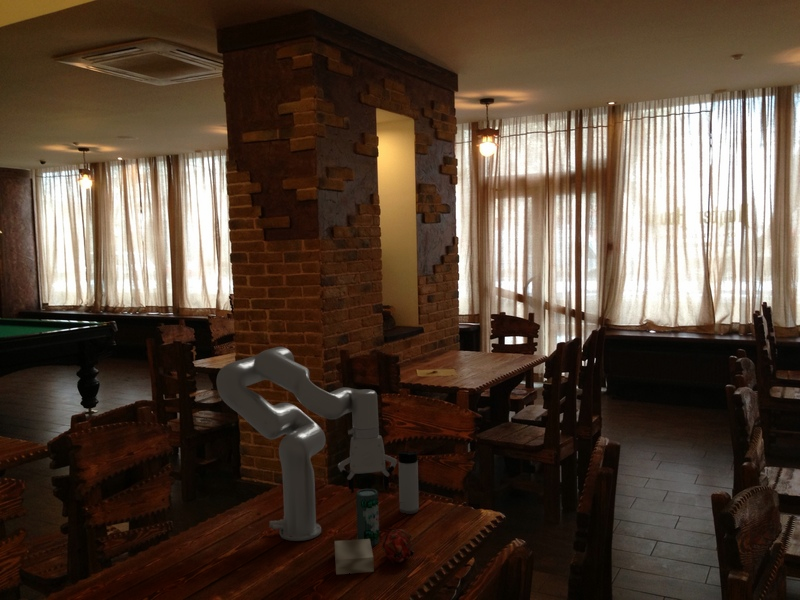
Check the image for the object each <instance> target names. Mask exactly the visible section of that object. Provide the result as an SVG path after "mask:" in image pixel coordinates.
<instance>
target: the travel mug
mask: <svg viewBox="0 0 800 600" xmlns="http://www.w3.org/2000/svg"><path fill="white" fill-rule="evenodd" d="M418 462H419V461H418V452H417V451H409V450H401V451H398V493H399V494H398V497H399V499H398V500H399V501H398V502H399V512H400V513H402V514H404V513H406V515H411V514H416V513H418V512H419V507H420V506H419V465H418V464H419V463H418Z"/></svg>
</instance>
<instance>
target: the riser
mask: <svg viewBox="0 0 800 600" xmlns="http://www.w3.org/2000/svg"><path fill="white" fill-rule="evenodd" d="M334 558H335V559H334V560H335V573H336V575H337V576H338V575H348V574H349V573H350V574H360V573H373V572H374V571H375V567H374V565H375V564H374V552H373V546H371V542H370V539H358V540H357V539H347V540H334Z"/></svg>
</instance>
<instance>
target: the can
mask: <svg viewBox="0 0 800 600" xmlns="http://www.w3.org/2000/svg"><path fill="white" fill-rule="evenodd" d="M355 500H356V502H355V503H356V529H357V530H356V531H357V532H356V537H357V538H356V540H358V539H370V542H371V547H374V546H377V545H379V543H380V520H379V519H380V516H379V515H380V513H379V491H378V490H377V489H374V488H363V489H359V490H357V491H356V493H355Z"/></svg>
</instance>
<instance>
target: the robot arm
mask: <svg viewBox="0 0 800 600" xmlns="http://www.w3.org/2000/svg"><path fill="white" fill-rule="evenodd" d="M216 375H217V376H216V382H215V383H216V389H217V392H218V394H219V397H220V398H221V400H222V401H223V402H224V403H225V404H226V405H227V406H228V407H229V408H230V409H232V410H233V411H234V412H236V413H237V414H238V415H240V416H241V417H242V418H243V419H244V420H245V421H246V422H247V423H248V425H250V426H252V427H253V428H254V429H255V431H257V432H258V433H259V434H260V435H261V436H263V437H264V438H266V439H268V440H276V439H278V438H280V437H282V436H284V435H285V436H284V437H282V439H281V440H280V443H279V445H278V446H279V447H278V455H279V456H278V457H279V461H280V464H281V465H280V466H281V471H282V473H281V474H282V489H283V490H282V491H283V493H282V494H283V518H282V519H281V518H280V520H269V528H272V530H279V536H280V538H281V539H284V540H286V541H290V542H303V541H309V540H312V539H315V538H317V537H319V536H320V534H322V526H321V525H320V524H319V523H317V515H316V514H317V513H316V486H315V471H314V468H313V467H314V466H313V465H312V464H313V463H312V461H311V458H313V456H315V455H316V454H318V453H319V452H320V451H322V450H323V448H324V447H325V445H326V441H327V440H326V434H325V432H324V430H323V429H322V428H321V426H320V425H319V424H318V423H316V422H315V421H314V420H313V419H312V418H311V417H309V416H308V415H307V414H306V413H305V412H303V410H301V409H300V408H299V407H297V406H296V405H294V404H292V403H289V402H279V403H277V404H274V405H273V404H271V403H270V402H269V401H268V400H266V399H265V398H264V397H263V396H262V395H260V394H259V393H257V392H255V391H253V390H251V389H249V388H248V386H251V385H255V384H257V383H259V382H262V381H266V380H268V381H269V382H272V383H273V384H275V385H277V386H279V387H282V388H283V389H285V390H286V391H289V392H290V393H292V394H293V395H294V396H295V397H294V398H296V399H297V401H298V402H299V403H300V404H301V405H302V406H303V407H304V408H306V409H307V410H309V411H310V412H312V413H314V414H316V415H318V416H319V417H321V418H325V419H327V420H337V419H339V418H341V417H342V416H344V415H346V414H349V413H351V415H352V416H351V417H352V420H351V421H352V428H351V429H348V430H347V433H348V435H351V437H350V443H349V447H350V448H349V457H347V458H345V459H343V460H342V461H341V462H339V463H337V468H338V470H339V471H340V473H341V474H342V475H343V476H344V477H345V478H346V479H347V483H348V490H350V493H351V494H353V493H354V492H355V488H354V486H355V485H354V475H357V474H359V475H360V474H370V473H371V474H372V473H382V479H383V481H382V484H383V490H385V491H387V490H388V487H389V486H390V485H389V484H390V481H389V478H390V477H389V476H390V475H391V473H393V472H394V471H395V468H396V465H397V464H398V459H396V458H394V457H392V456H390V455H387V454H385V444H384V440H383V437H382V435H380V427H379V426H380V425H379V424H380V423H379V422H380V421H379V403H378V394H377V392H376V391H375V390H373V389H370V388H369V389H365V388H364V389H356V388H351V387H346V386H345V387H344V386H343V387H339V388H337V389H335V390H333V391H330V392H328V391H326V390H324V389H323V388H320V387H319V386H317V385H316V384H314V383H313V382H312V381H311V379H310V370H309V368H308V367H306V366H305V365H302V364H300V363H298V362H296V361H295V356H294V354H293V353H292V351H290V349H288V348H286V347H284V346H276V347H273V348H269V349H265V350H263V351H261V352H259V353H258V354H256V355H253V356H250V357H246V358H243V359H238V360H235V361H232V362H229V363H227V364H225V365H224V366H223V367H222V368H220V370H219V371H218V373H217V374H216ZM386 461H387V462H389V463H390V465H389V466H388V467H387V468H386ZM346 465H349V468H350V470H349V471H348V470H347V469H345V467H346Z"/></svg>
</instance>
